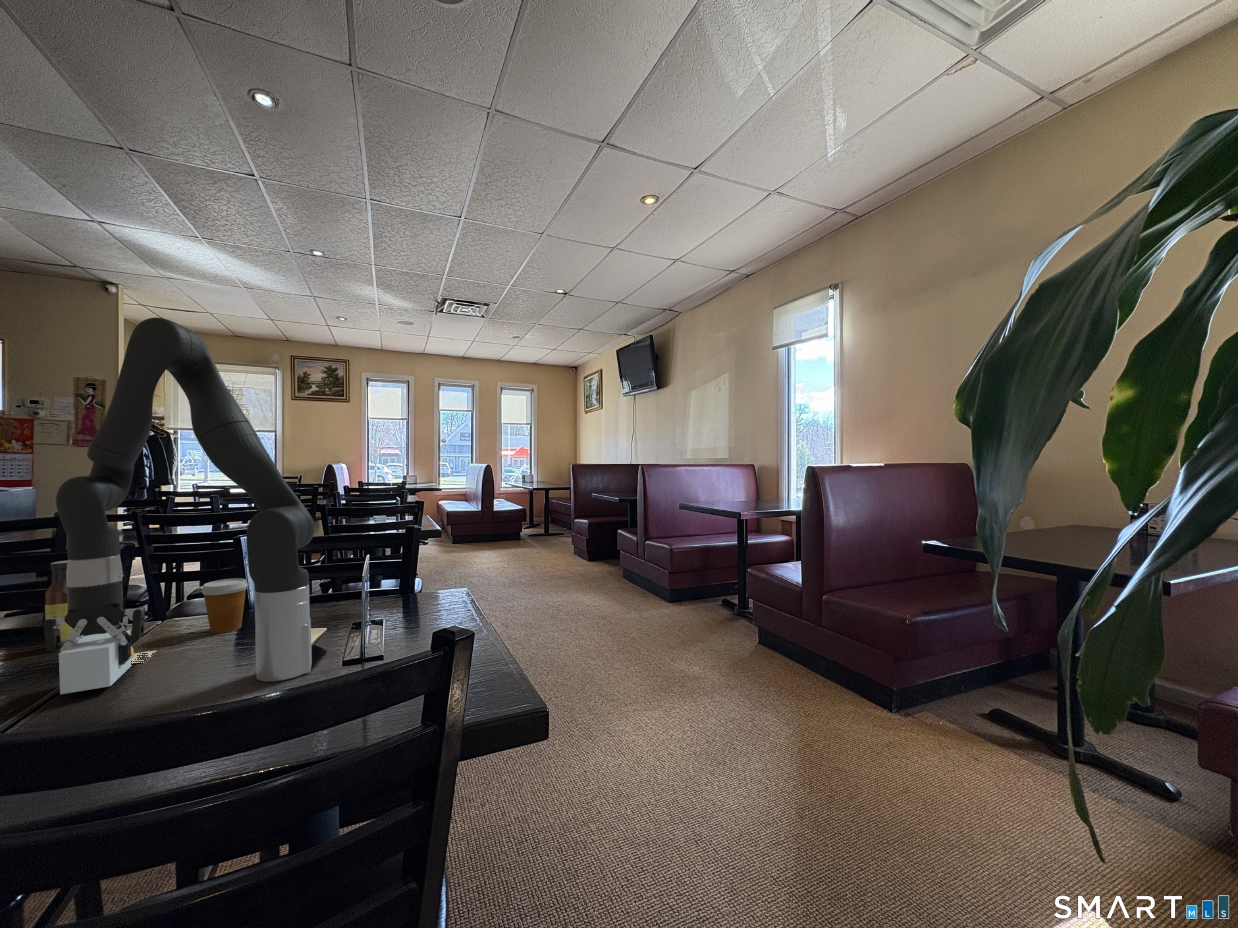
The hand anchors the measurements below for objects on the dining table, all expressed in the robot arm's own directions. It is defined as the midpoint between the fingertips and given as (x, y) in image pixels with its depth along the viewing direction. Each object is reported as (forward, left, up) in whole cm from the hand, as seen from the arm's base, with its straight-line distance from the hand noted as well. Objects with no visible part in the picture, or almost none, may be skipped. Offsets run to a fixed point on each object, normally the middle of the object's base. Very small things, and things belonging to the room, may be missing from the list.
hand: (97, 666), depth 100 cm
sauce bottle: (+16, -34, -4) cm, 37 cm away
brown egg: (0, -11, -1) cm, 11 cm away
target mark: (0, -15, -4) cm, 15 cm away
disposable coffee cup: (-15, -30, -4) cm, 33 cm away
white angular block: (0, 0, -2) cm, 2 cm away
